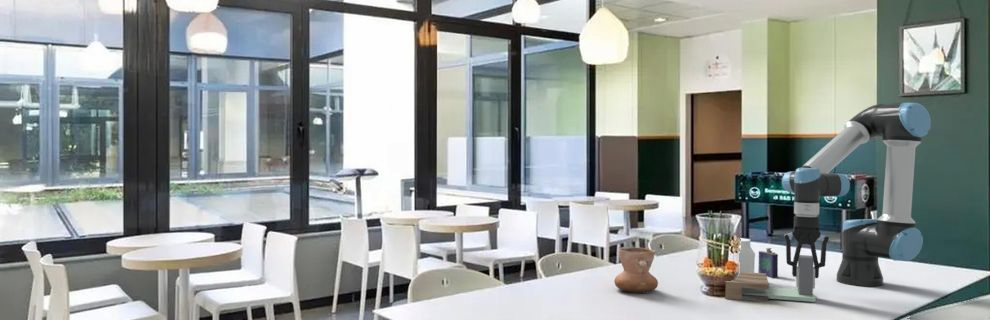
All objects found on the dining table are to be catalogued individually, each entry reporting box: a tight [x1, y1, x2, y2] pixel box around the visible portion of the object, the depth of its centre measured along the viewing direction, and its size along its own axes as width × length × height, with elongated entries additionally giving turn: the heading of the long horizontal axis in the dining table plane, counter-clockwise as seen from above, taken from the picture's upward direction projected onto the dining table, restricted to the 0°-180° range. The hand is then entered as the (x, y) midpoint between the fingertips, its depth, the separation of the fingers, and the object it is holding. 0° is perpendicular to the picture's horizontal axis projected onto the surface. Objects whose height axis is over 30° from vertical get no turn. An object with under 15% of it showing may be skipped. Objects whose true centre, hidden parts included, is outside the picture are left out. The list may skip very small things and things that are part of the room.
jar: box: [739, 237, 756, 273], centre depth 259 cm, size 12×10×15 cm
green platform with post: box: [742, 254, 816, 303], centre depth 232 cm, size 13×22×13 cm, turn 71°
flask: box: [757, 247, 779, 279], centre depth 268 cm, size 9×3×11 cm, turn 21°
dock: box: [724, 272, 770, 302], centre depth 235 cm, size 20×13×6 cm, turn 161°
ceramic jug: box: [613, 246, 659, 294], centre depth 239 cm, size 18×14×14 cm
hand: (805, 287), depth 230 cm, fingers closed on green platform with post, 4 cm apart
